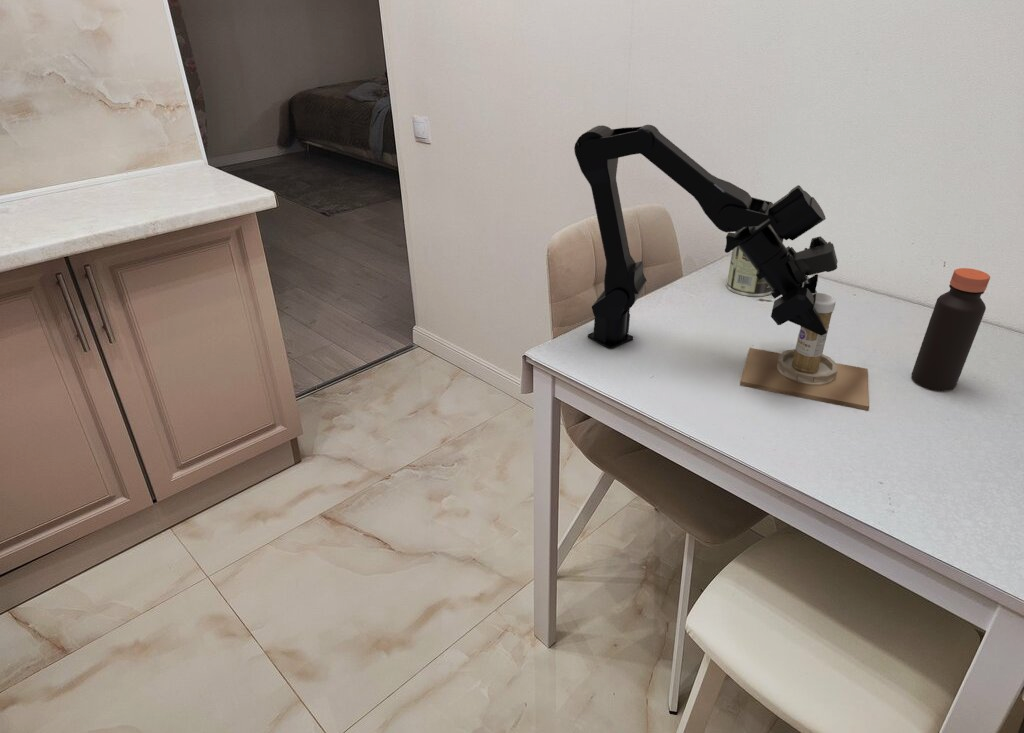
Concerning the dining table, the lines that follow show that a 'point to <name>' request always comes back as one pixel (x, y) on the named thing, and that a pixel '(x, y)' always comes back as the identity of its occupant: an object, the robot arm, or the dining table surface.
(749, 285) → the coffee can
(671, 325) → the dining table surface
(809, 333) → the sprinkles bottle
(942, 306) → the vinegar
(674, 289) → the dining table surface
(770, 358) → the dish board
